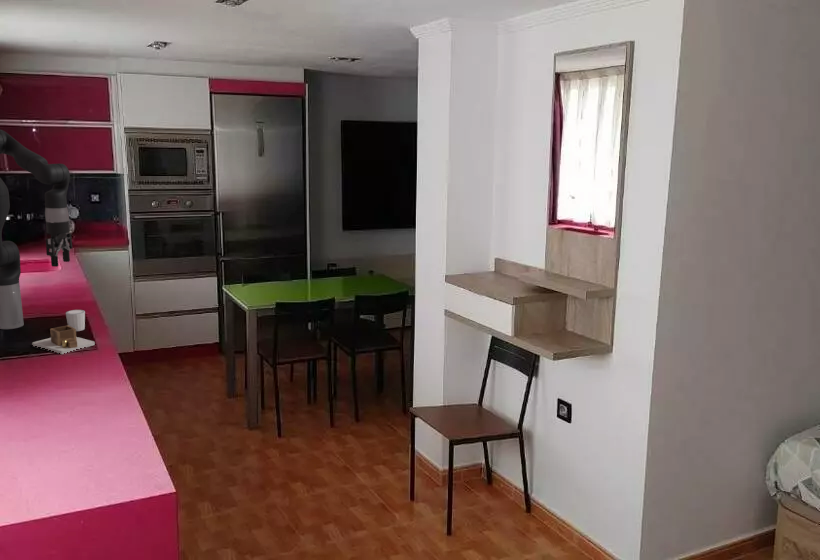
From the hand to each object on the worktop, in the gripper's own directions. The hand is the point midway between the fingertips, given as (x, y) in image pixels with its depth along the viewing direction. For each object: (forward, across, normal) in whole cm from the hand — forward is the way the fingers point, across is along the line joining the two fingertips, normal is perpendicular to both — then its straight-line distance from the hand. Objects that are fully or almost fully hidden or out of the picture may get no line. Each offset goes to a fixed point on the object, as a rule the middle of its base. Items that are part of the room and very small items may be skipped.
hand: (60, 264), depth 266 cm
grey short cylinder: (+28, -10, -1) cm, 30 cm away
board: (+28, +10, +4) cm, 30 cm away
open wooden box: (+27, +12, +6) cm, 30 cm away
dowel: (+27, +16, +7) cm, 32 cm away
